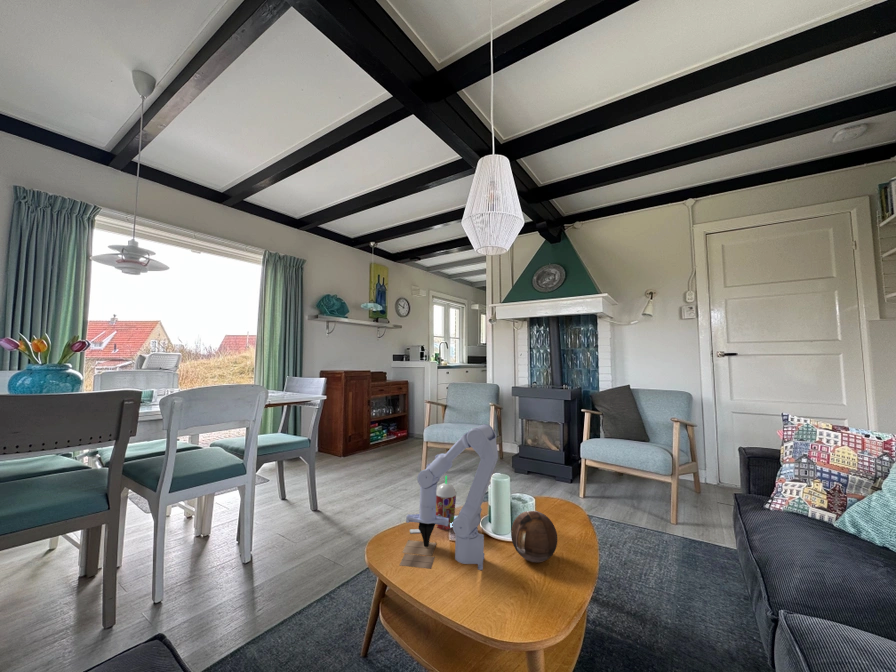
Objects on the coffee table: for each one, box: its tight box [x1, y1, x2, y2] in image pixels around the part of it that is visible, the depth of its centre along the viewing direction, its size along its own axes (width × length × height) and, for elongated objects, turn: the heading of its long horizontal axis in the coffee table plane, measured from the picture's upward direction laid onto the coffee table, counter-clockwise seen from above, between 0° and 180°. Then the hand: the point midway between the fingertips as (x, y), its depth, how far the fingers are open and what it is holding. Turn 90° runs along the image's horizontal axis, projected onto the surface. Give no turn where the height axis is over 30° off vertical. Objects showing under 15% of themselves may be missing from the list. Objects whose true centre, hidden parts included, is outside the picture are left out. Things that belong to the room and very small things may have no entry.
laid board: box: [399, 553, 436, 570], centre depth 112 cm, size 10×7×2 cm
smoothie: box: [435, 475, 457, 531], centre depth 137 cm, size 8×8×20 cm
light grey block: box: [409, 528, 421, 534], centre depth 131 cm, size 4×2×2 cm, turn 99°
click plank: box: [401, 539, 437, 556], centre depth 120 cm, size 10×8×1 cm
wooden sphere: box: [510, 510, 558, 563], centre depth 118 cm, size 15×15×15 cm
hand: (426, 545), depth 121 cm, fingers closed, pressing on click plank
